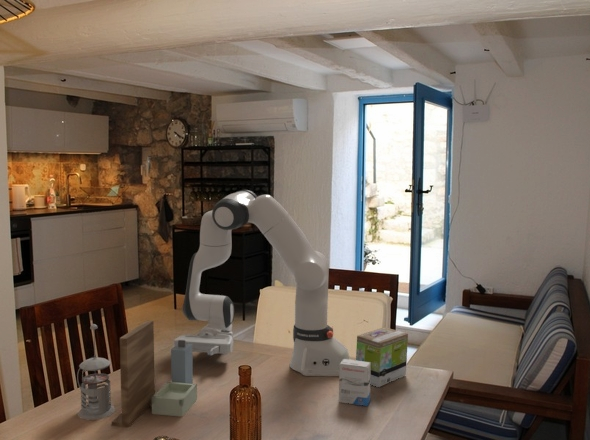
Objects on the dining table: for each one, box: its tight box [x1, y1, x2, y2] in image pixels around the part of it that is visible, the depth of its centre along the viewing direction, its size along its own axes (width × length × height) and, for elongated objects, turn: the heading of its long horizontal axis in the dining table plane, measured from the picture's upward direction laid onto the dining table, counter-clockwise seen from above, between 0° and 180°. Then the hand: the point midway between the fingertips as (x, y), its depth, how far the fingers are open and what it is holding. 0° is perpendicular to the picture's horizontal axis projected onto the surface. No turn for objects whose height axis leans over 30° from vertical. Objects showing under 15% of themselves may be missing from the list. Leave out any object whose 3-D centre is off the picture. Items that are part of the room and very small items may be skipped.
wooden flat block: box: [111, 320, 156, 428], centre depth 154 cm, size 5×16×24 cm, turn 170°
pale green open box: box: [151, 381, 198, 418], centre depth 159 cm, size 9×11×5 cm
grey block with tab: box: [170, 340, 194, 384], centre depth 171 cm, size 4×6×15 cm
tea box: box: [355, 326, 409, 388], centre depth 181 cm, size 15×10×15 cm, turn 135°
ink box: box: [338, 358, 371, 407], centre depth 163 cm, size 8×5×12 cm, turn 71°
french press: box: [76, 323, 115, 421], centre depth 155 cm, size 10×12×25 cm
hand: (195, 352), depth 183 cm, fingers open, 8 cm apart
